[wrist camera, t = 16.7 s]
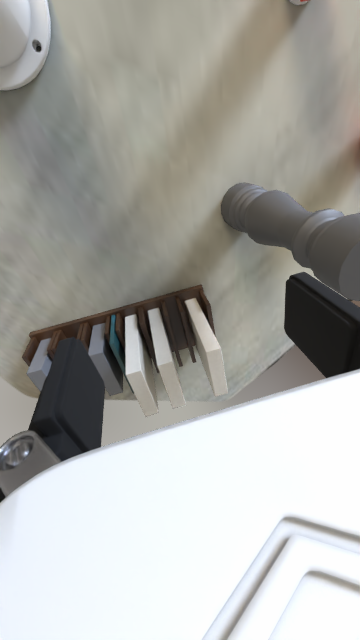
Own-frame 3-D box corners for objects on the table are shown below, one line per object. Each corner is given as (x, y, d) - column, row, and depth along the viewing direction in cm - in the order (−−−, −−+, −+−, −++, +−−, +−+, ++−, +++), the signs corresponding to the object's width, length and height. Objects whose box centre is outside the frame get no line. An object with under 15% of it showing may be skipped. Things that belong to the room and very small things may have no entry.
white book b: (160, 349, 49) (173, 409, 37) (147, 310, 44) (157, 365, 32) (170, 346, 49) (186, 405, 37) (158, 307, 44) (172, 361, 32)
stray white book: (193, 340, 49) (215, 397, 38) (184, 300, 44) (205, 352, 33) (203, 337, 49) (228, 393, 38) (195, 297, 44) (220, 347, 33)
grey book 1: (65, 376, 48) (56, 411, 42) (41, 340, 43) (26, 373, 37) (76, 373, 48) (69, 407, 42) (53, 336, 43) (41, 369, 37)
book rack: (63, 380, 50) (52, 419, 42) (30, 332, 43) (11, 369, 36) (210, 337, 51) (225, 368, 44) (201, 284, 44) (216, 310, 37)
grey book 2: (111, 363, 49) (109, 396, 42) (93, 325, 44) (87, 356, 37) (123, 360, 49) (123, 392, 42) (105, 322, 44) (102, 352, 37)
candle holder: (246, 233, 41) (371, 313, 20) (213, 217, 39) (317, 288, 18) (268, 194, 38) (438, 240, 18) (234, 174, 36) (385, 200, 15)
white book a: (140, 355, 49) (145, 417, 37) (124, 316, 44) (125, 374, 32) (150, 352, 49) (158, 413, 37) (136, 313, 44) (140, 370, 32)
